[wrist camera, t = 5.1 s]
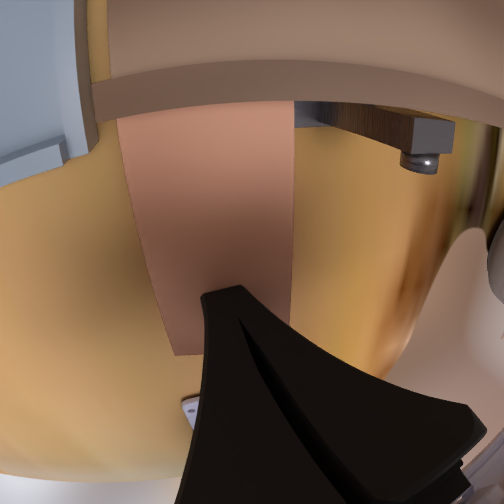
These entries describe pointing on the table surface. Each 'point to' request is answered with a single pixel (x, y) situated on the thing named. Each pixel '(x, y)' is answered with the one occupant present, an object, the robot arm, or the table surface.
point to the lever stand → (385, 129)
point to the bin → (43, 87)
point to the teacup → (497, 263)
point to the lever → (265, 120)
